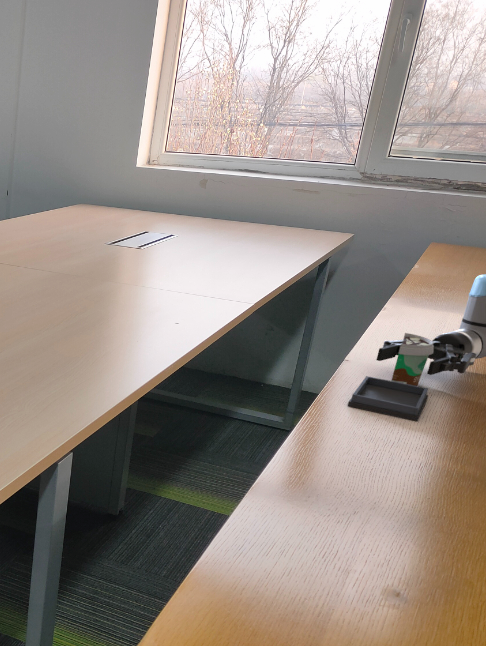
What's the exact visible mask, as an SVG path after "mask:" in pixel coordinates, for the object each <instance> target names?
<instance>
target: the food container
mask: <svg viewBox="0 0 486 646" xmlns="http://www.w3.org/2000/svg"><path fill="white" fill-rule="evenodd" d="M402 340H403V343H402V344H401V347H400V350H399V354H398V355H397V358H396V362H395V366H394V370H393V372H392V377H391V380H390V381H394V382H399V383H404V384H409V385H414V386H419V383H420V380H421V377H422V376H423V375H422V374H423V371H424V369H425V367H426V364H427V361H428V359H429V358H428V356H429V355H431V354H433V347H434V346H433V342H432V340H431V339H429V338H427V337H424V336H421V335H418V334H413V333H409V332H405V333H404V336H403V339H402Z"/></svg>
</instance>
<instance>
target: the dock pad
mask: <svg viewBox="0 0 486 646" xmlns="http://www.w3.org/2000/svg"><path fill="white" fill-rule="evenodd" d="M428 391H429V388H428V387H424V386H419V385H417V386H414V385H409V384H404V383H399V382H394V381H391V380H388V379H383V378H379V377H373V376H368V375H366V376H365V377H364V378H363V380H362V381H361V383H360V384H359V385H358V387H356V389H355V391H354V392H353V393H352V395H351V397H350V399H349V401H348V402H347V407H349V408H353V409H354V408H355V409H359V410H363V411H368V412H373V413H377V414H381V415H385V416H386V415H387V416H391V417H395V418H400V419H405V420H409V421H413V422H418V421H419V419H420V417H421V414H422V412H423V410H424V408H425V406H426V403H427V401H428V399H429V394H428Z"/></svg>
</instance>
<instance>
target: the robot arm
mask: <svg viewBox="0 0 486 646" xmlns="http://www.w3.org/2000/svg"><path fill="white" fill-rule="evenodd" d="M465 305H466V306H465V309H464V313H463V317H462V319H461V322H460V325H459V328H458V329H457V330H453V331H449V332H445V333H441V334H438V335H437V336H436V337H435V338H433V339H432V340H431V341H432V342H433V346H434V347H433V354H431V355H429V356H428V359H430V360H431V361H430V362H429V365H428V369H427V372H426V375H429V376H432V375H436V374H439V373H443V372H448V371H449V372H454V371H455V370H456V371H457V373H459V374H464V373H466V371H467V369H468V368H469V367H471V366H474V363H475V361H476V360H477V359H483V358H486V274H485V273H484V274H480V275H477V276H476V277H475V279H474V280H473V283H472V285H471V288H470V291H469V293H468V298H467V302H466V304H465ZM402 343H403V339H395V340H384V342H383V345H382V347H379V349H378V353H377V356H376V359H375V360H376V361H378V362H381V361H386V360H389V359H393V358H396V357H397V356H398V354H399V350H400V347H401V344H402Z"/></svg>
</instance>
